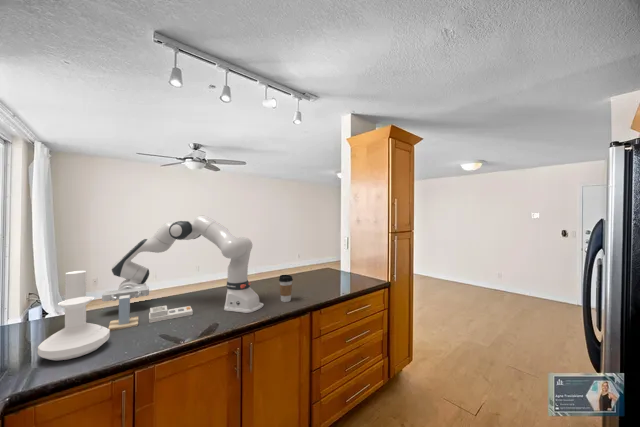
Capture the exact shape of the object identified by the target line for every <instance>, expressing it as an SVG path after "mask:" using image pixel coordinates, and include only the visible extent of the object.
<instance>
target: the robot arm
mask: <svg viewBox="0 0 640 427" xmlns="http://www.w3.org/2000/svg"><path fill="white" fill-rule="evenodd" d="M201 236H202V237H203V238H205V239H207V240H208V241H209V242H211V243H212V244H214V245H215V246H216V247H217V248H218V249H219V251H220V253H221V254H222V256H223V257H224V258H227V259H230V261H229V265H228V266H227V280H226V290H227V291H226V297H225V302H224V306H223V307H224V308H223V310H224V311H227V312H237V313H244V314H245V313H246V314H247V313H253V312H256V311H258V310H260V309H262V308H263V307H264V306H265V305H264V303H263V302H261V301H260V297H259V295H258V293H257V292H255V290H254V289H253V288H251V286H250V285H251V284H252V282H250V280H248V275H249V274H248V273H249V271H248V268H249V262H250V257H251V251H252V249H253V243H252V240H251V239H250V238H248V237H244V236H240V237H236V236H234V235H233V234H232V233H231V232H230V231H229V229H228V228H227V227H225V226H224V225H222V224H220V223H219V222H217V221H216V220H214V219H212V218H211V217H208V216H205V215H198V216H197V217H195V218H194V220H192V221H189V220H178V221H174V222H172V221H167V222H165V223H164V224H163V225H161V227H160V228H159V229H157V231H156V232H155V233H154V235H153V236H152V237H149V238H144V239H143V240H141V241H139V242H138V243H137V244H136V245H135V246H134V247H132V248H131V250H129V251H128V252H127V253H126V254H125V255H124V256H122V258H120V259H119V260H118V261H115V263H114V264H113V265H112V267H111V272H112V275H113V276H115V277H118V278H122V279H123V281H121V283H120V284H119V286H118V289H116V290H115V289H114V290H108V291H105V292H103V293H102V294H101V301H102V302H109V301H111V302H115V301H119V297H120V296H126V295H130V300H131V299H133V298H140V297H146V296H147V297H148V296H149V295H150V287H149V286H148V285H147V283H146V282H147V280H148V279H149V277H150V270H149V267H146V266H144V265H140V264H138V263H136V262H134V261H132V260H133V259H134V258H135V257H137V255H138V254H140V253H143V252H147V253H157V254H159V253H163V252H167V251H168V250H169V249H170V248H171V247H172V245H174V243H175V242H176V240H178V241H183V240H184V241H185V240H186V241H189V240H195V239H198V238H200V237H201Z"/></svg>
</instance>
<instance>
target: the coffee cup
mask: <svg viewBox="0 0 640 427" xmlns="http://www.w3.org/2000/svg"><path fill="white" fill-rule="evenodd" d="M293 280H294V279H293V276H292V275H290V274H281V275H279V279H278V281H279V293H280V301H281V302H282V303H288V302H291V299H292V290H293Z"/></svg>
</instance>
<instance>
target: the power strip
mask: <svg viewBox="0 0 640 427" xmlns="http://www.w3.org/2000/svg"><path fill="white" fill-rule="evenodd" d="M193 310H194V309H193V308H192V307H191V305H187V306H182V307H176V308H171V309H168V306H167V305H163V306H162V305H161V306H154V307H150V308H149V313H148V322H149V323H150V324H151V323H155V322H161V321H166V320H167V321H168V320H172V319H177V318H178V319H179V318H184V317H189V316H193V315H194V314H193V313H194V311H193Z"/></svg>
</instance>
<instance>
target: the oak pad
mask: <svg viewBox="0 0 640 427" xmlns="http://www.w3.org/2000/svg"><path fill="white" fill-rule="evenodd" d="M108 325H109V326H108V329H110V332H113V331H118V330H123V329H129V328H134V327H138V326H139V315H138V316H132V317H130V321H129V323H127V324H122V325H119V319H114V320H110V322H109V324H108Z"/></svg>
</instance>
